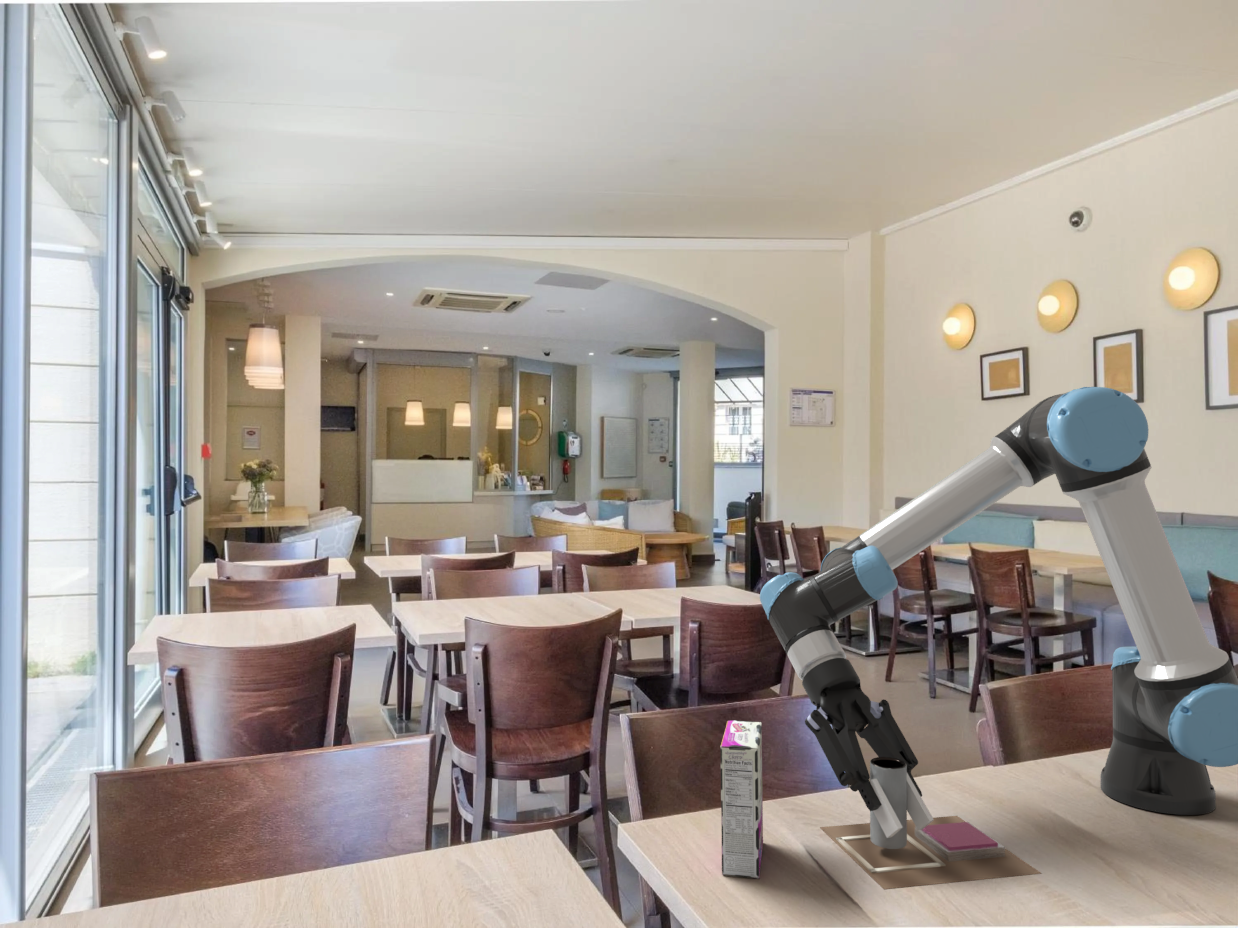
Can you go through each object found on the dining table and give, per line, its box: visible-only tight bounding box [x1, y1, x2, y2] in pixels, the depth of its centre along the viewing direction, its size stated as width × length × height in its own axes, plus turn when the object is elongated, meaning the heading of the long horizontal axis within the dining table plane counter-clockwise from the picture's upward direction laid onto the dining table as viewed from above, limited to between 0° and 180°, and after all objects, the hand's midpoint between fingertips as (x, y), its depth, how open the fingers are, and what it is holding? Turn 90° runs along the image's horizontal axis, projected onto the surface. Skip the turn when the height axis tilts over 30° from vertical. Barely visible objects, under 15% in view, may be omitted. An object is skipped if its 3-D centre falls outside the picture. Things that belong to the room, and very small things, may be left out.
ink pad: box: [915, 821, 1006, 862], centre depth 114 cm, size 8×8×2 cm
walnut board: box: [819, 815, 1043, 890], centre depth 113 cm, size 21×18×1 cm
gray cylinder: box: [869, 756, 908, 849], centre depth 112 cm, size 4×4×10 cm
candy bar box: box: [719, 720, 764, 879], centre depth 112 cm, size 11×5×16 cm, turn 168°
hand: (910, 828), depth 108 cm, fingers closed on gray cylinder, 4 cm apart
